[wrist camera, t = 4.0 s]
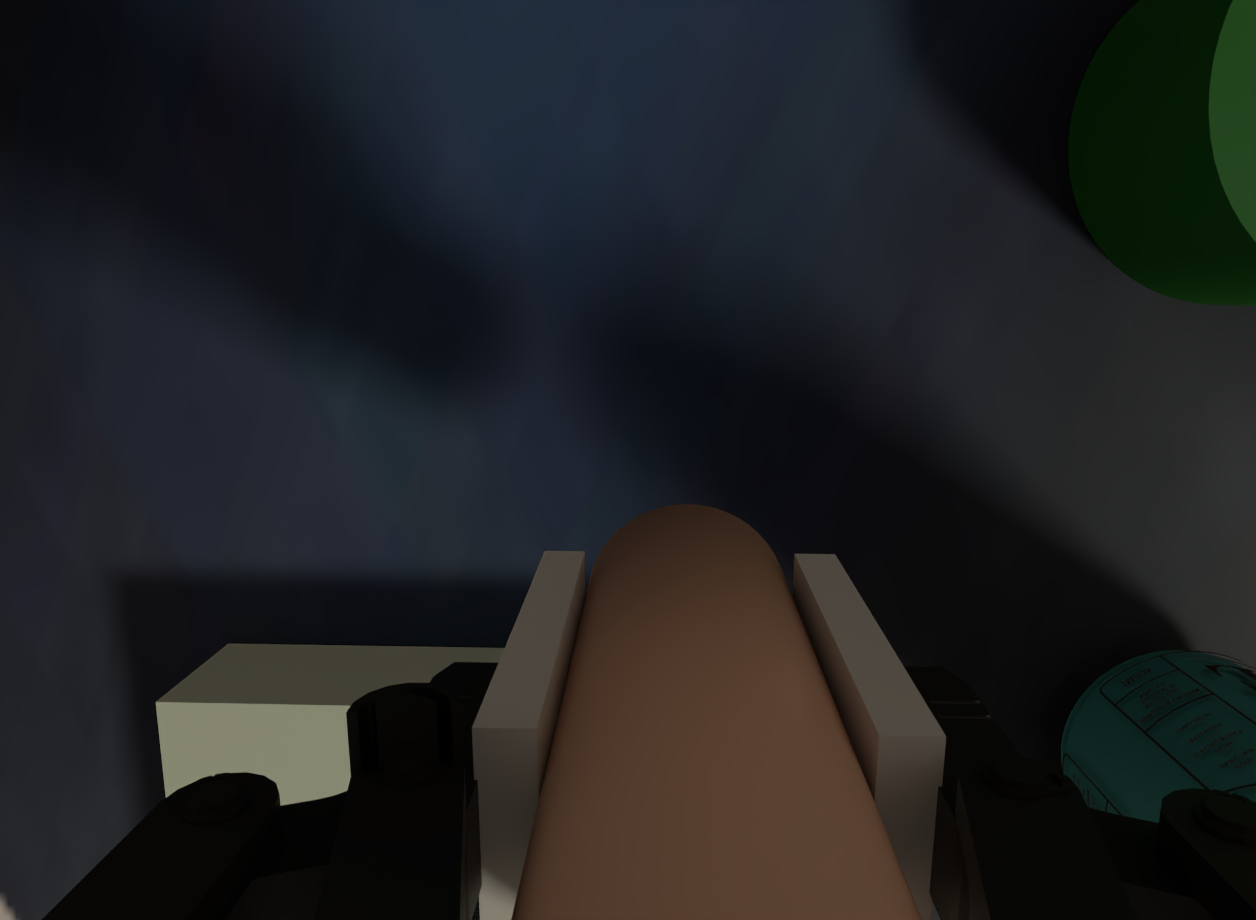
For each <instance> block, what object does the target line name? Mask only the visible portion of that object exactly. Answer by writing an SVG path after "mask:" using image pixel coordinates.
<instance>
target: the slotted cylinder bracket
mask: <svg viewBox="0 0 1256 920" xmlns="http://www.w3.org/2000/svg"><path fill="white" fill-rule="evenodd" d="M1068 162H1069V173H1070V180H1071V185H1072V189H1073V194H1074V198H1075V201H1076V204H1077V207H1078V210H1079V212H1080V215H1081V217H1082V219H1083V221H1084V223H1085V225H1086V227H1087V229H1088V231H1089V232H1090V234H1091V236H1092V237H1093V239H1094V241H1095V242H1096V244H1097V245H1098V246H1099V247H1100V249H1101V250H1102V251H1103V252H1104V254H1105V255H1106V256H1107V257H1108V258H1109V259H1110V260H1111V261H1112V262H1113V263H1114V264H1115V265H1116V266H1117V267H1118V268H1119V269H1120V270H1122V271H1123V272H1124V273H1125V274H1127V275H1128V276H1129V277H1131V278H1132V279H1134V280H1135V281H1137V282H1139V283H1140V284H1142V285H1143V286H1145V287H1147V288H1149V289H1151V290H1153V291H1156V292H1158V293H1160V294H1162V295H1165V296H1169V297H1172V298H1175V299H1178V300H1183V301H1188V302H1193V303H1200V304H1212V305H1256V0H1139V1H1138V2H1137V3H1136V4H1135V5H1134V6H1133V7H1132V8H1131V9H1130V10H1129V11H1128V12H1127V13H1126V14H1125V15H1124V16H1123V17H1122V18H1121V19H1120V20H1119V21H1118V23H1117V24H1116V25H1115V26H1114V27H1113V28H1112V30H1111V31H1110V32H1109V34H1108V35H1107V37H1106V38H1105V39H1104V41H1103V42H1102V44H1101V45H1100V47H1099V48H1098V50H1097V52H1096V53H1095V55H1094V57H1093V59H1092V61H1091V62H1090V64H1089V66H1088V68H1087V71H1086V73H1085V75H1084V77H1083V80H1082V82H1081V85H1080V88H1079V91H1078V94H1077V97H1076V100H1075V103H1074V108H1073V112H1072V117H1071V121H1070V130H1069V139H1068Z"/></svg>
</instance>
